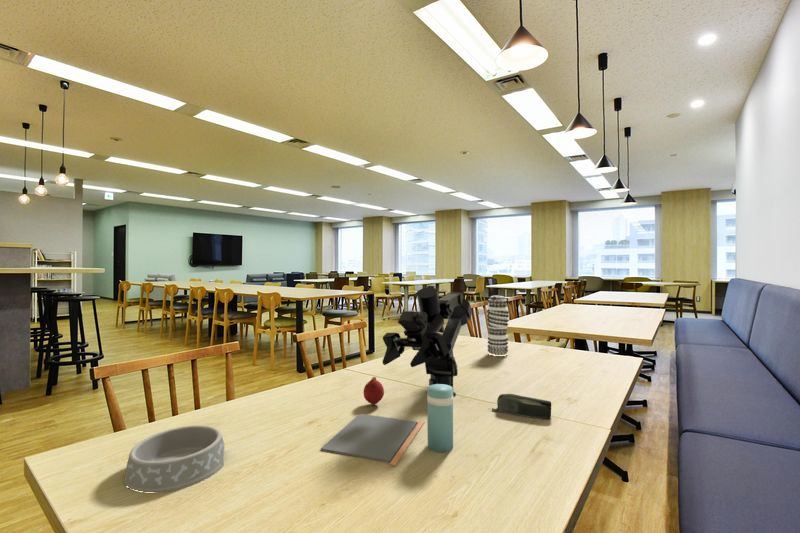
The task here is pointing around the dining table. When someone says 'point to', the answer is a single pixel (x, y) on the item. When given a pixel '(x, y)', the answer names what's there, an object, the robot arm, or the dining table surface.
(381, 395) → the onion
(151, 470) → the dog bowl
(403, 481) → the dining table surface
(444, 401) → the teal cylinder
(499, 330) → the grey patterned cylinder
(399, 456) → the orange strip
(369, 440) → the mat
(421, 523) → the dining table surface
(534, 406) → the black stapler
